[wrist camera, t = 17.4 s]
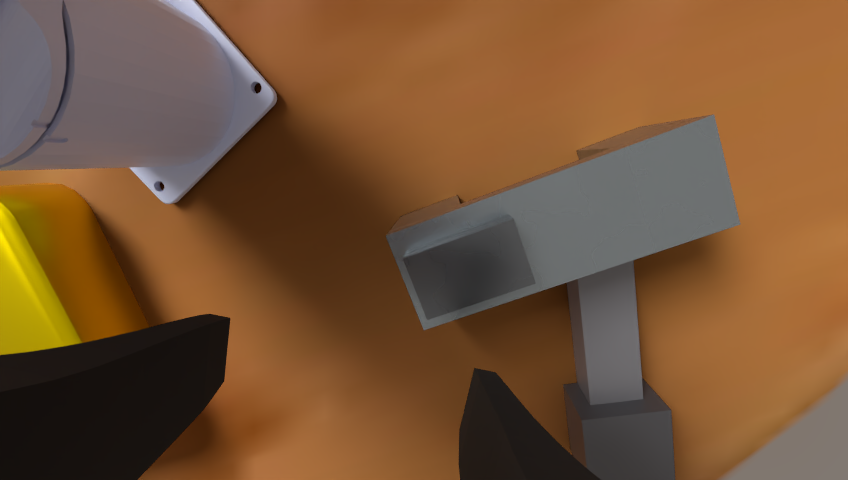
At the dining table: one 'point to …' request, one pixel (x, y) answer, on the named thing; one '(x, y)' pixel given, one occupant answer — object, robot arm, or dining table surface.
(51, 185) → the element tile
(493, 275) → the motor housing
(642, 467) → the plug
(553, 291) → the dining table surface
